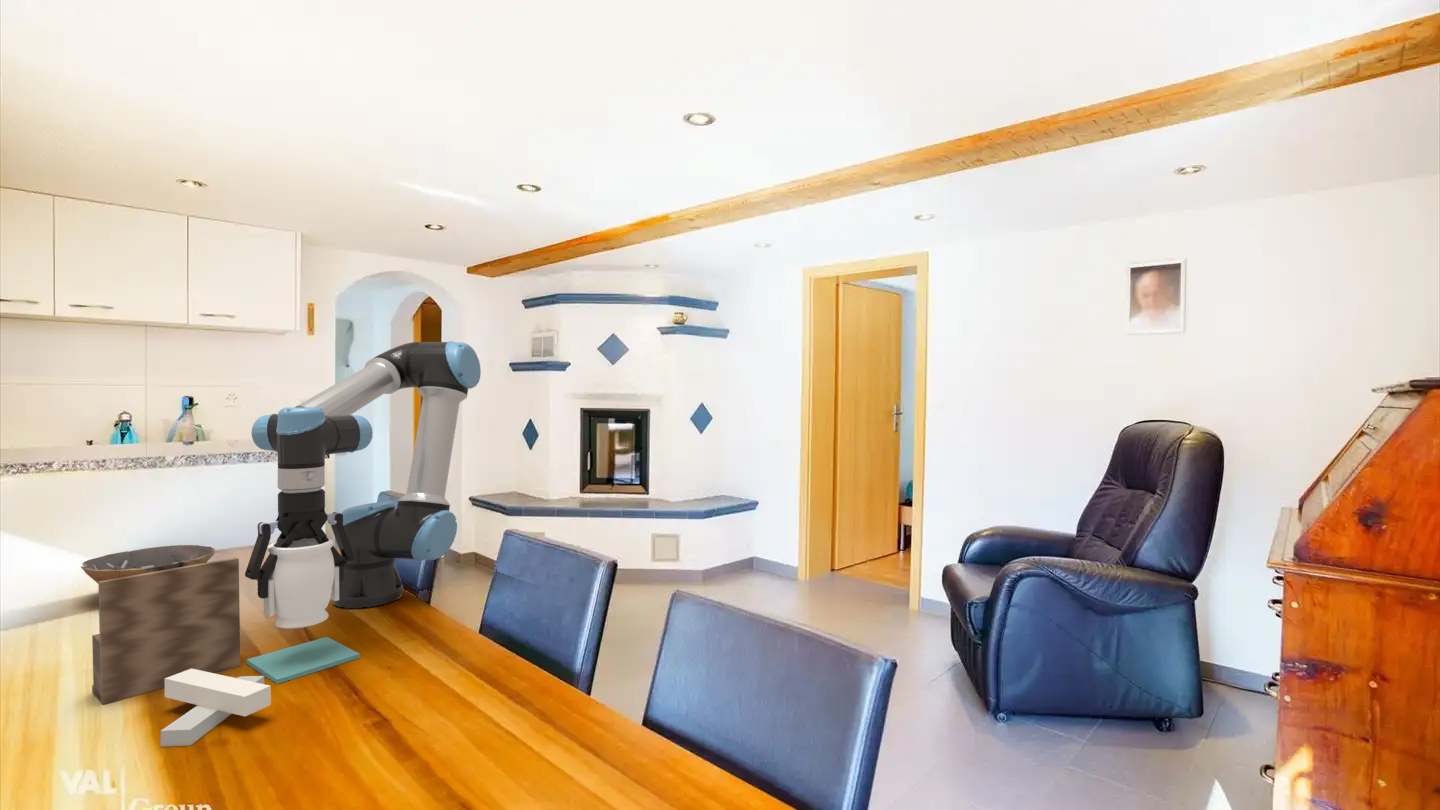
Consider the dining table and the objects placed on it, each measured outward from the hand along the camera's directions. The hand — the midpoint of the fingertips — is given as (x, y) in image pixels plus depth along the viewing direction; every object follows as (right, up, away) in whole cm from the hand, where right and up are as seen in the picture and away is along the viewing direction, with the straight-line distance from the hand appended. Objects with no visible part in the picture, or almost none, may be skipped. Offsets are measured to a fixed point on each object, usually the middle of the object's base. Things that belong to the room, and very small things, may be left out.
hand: (302, 606), depth 125 cm
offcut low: (-1, -12, -20) cm, 23 cm away
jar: (0, -3, 0) cm, 3 cm away
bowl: (-61, -9, +38) cm, 72 cm away
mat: (0, -10, 0) cm, 10 cm away
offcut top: (-1, -9, -20) cm, 22 cm away
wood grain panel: (-19, -10, -7) cm, 23 cm away
